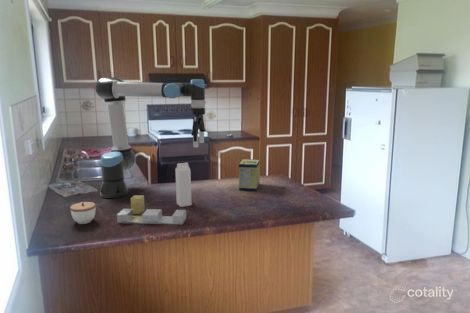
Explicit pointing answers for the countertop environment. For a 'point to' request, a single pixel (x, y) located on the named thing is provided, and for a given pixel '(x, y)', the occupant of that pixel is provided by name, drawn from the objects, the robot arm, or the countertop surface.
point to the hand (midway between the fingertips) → (198, 145)
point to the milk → (183, 184)
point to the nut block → (137, 204)
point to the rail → (151, 217)
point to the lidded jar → (83, 212)
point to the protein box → (249, 174)
